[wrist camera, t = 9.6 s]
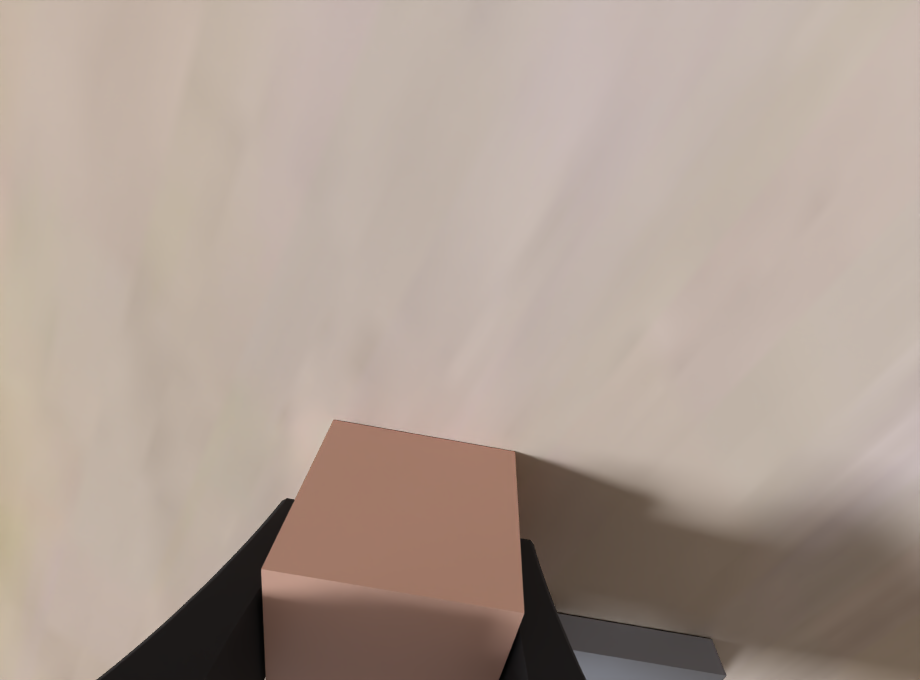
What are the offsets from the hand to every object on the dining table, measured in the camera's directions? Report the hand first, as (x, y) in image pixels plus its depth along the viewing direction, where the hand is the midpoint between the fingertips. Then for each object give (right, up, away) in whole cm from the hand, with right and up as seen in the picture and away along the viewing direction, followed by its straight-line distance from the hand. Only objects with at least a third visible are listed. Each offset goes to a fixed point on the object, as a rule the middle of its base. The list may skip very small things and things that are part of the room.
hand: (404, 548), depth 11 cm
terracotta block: (0, +1, +1) cm, 1 cm away
